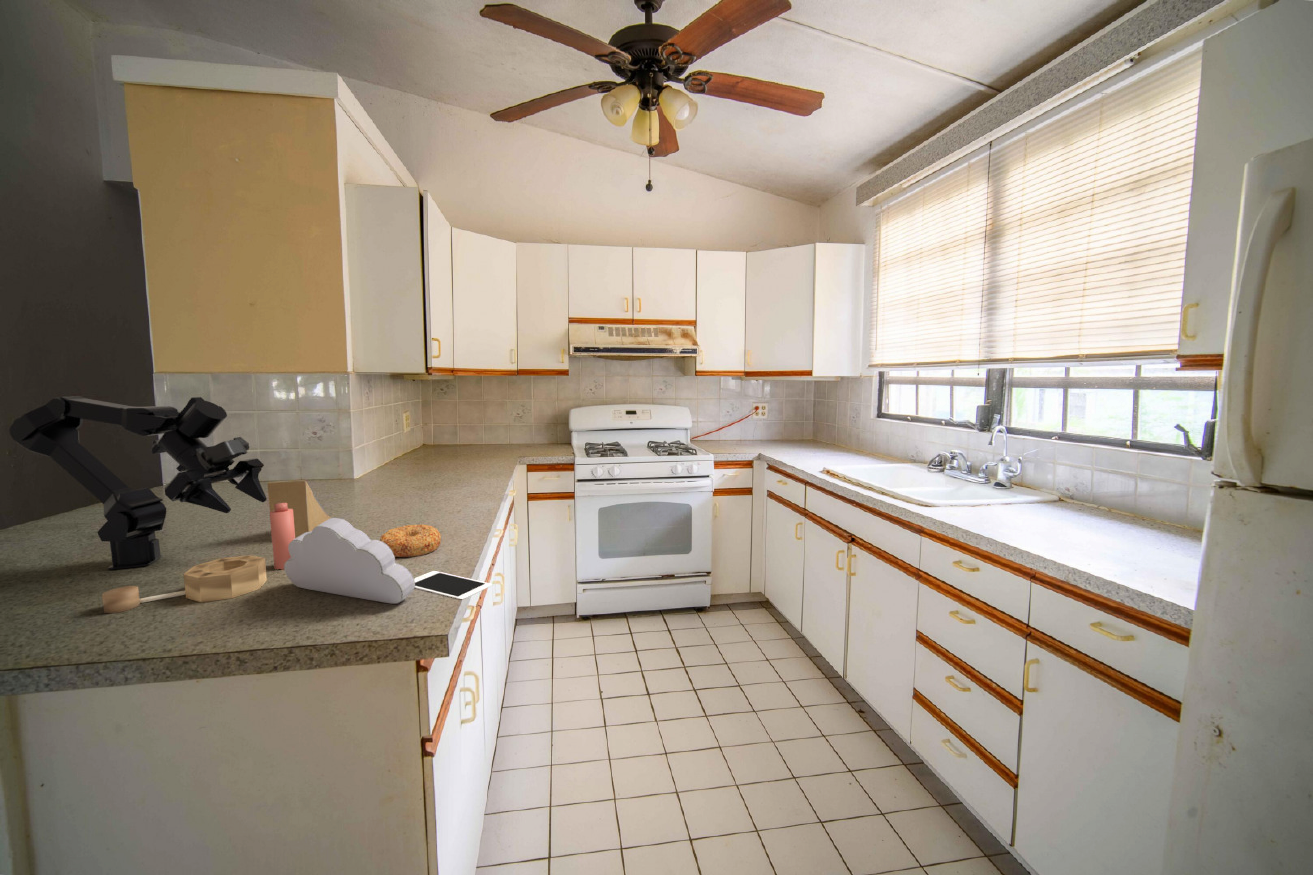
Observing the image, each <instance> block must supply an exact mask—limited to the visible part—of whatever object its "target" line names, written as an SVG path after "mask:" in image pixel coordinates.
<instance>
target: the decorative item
mask: <svg viewBox="0 0 1313 875" xmlns="http://www.w3.org/2000/svg"><path fill="white" fill-rule="evenodd" d="M379 540H380V539H379ZM379 540H378V539H371V538H370V537H369V535H368V534H367V533H365V532H364V531H362V530H360V529H358V528H355V527H354V526H353V525H352V524H351V523H350V522H349V521H348V520H346V519H344V518H340V517H330V519H328V520H327V521H325V522H323V523H321V524H320V525H318V526H316V527H315V528H314V529H313V530H312V531H310V532H306V533H304V534H302V535H300V536H299V537H297V538H295V539H294V540H292V541H291V542H290V543H289V546H288V549H289V554H290V556H291V558H290V559H288V560H287V561H286V562H285V564H284V573H285V575H286V577H287V578H288V580H289V581H290V582H291V583H292V584H293V585H294V586H296V587H297V588H302V589H306V590H311V591H315V592H316V591H317V592H323V593H328V594H335V595H338V596H339V595H340V596H345V597H351V598H357V599H363V600H368V601H374V602H381V603H387V604H400V603H401V602H402V601H403V600H405V599H406V598H407V597H409V595H411V594H412V592H414V590H415V589H416V588H415V580H414V575H413V574H412V573H411V571H410V569H408V568H407V567H406V566H404V565H402V564H400V563H398V562H397V561H396V557H395V556H394V554H393V552H392V550H391V549H390V547H389V546H388V545H387V544H385V543H384V542H382V541H379Z"/></svg>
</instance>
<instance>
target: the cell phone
mask: <svg viewBox="0 0 1313 875" xmlns="http://www.w3.org/2000/svg"><path fill="white" fill-rule="evenodd" d="M413 578H414V577H413ZM414 580H415V588H414V589H417V590H420V591H424V592H427V591H430V592H429V593H431V592H432V594H436V595H440V596H443V595H444V596H443V597H447V596H448V597H447V598H451V597H452V599H455V598H456V600H459V599H462V600H463V601H464V600H466V599H468V598H470V597H472V596H474V595H476V594H479V592H483V591H484V590H486V589H488V588H490V587H492V586H493V584H492V583H490V582H485V581H482V580H477V579H472V578H468V577H463V576H459V575H455V574H451V573H448V572H447V573H446V572H442V571H436V570H432V571H430V572H429V571H428V572H427V573H425V574H422V575H419V576H416V577H415V578H414ZM462 600H461V601H462Z"/></svg>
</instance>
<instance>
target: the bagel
mask: <svg viewBox="0 0 1313 875" xmlns="http://www.w3.org/2000/svg"><path fill="white" fill-rule="evenodd" d="M379 541H382V542H384V543H385V544H387V545H388V546H389V547H390V549H391V550H392V552H393V554H394V556H395V558H408V557H410V558H411V557H412V558H413V557H418V556H425V555H427V554H430V553H432V552H433V553H434V552H435V551H436V550H438V548H439V547H440V546H441V543H442V542H441V541H442V537H441V533H440V531H439V530H438V528H435V527H434V526H431V525H429V524H423V523H421V524H405V525H401V526H398V527H397V526H396V527H395V528H389V529H388V530H387V531H386V532H385V533H383V534H382V535H381V536H380V539H379Z"/></svg>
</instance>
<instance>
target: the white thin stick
mask: <svg viewBox="0 0 1313 875" xmlns="http://www.w3.org/2000/svg"><path fill="white" fill-rule="evenodd" d="M180 596H186V593H185V589H184V590H179V591H174V592H169V593H163V594H158V595H153V596H152V595H151V596H148V597H147V596H146V597H141V598H139V599H140V604H143V603H148V602H154V601H161V600H164V599H170V598H176V597H180Z"/></svg>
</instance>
